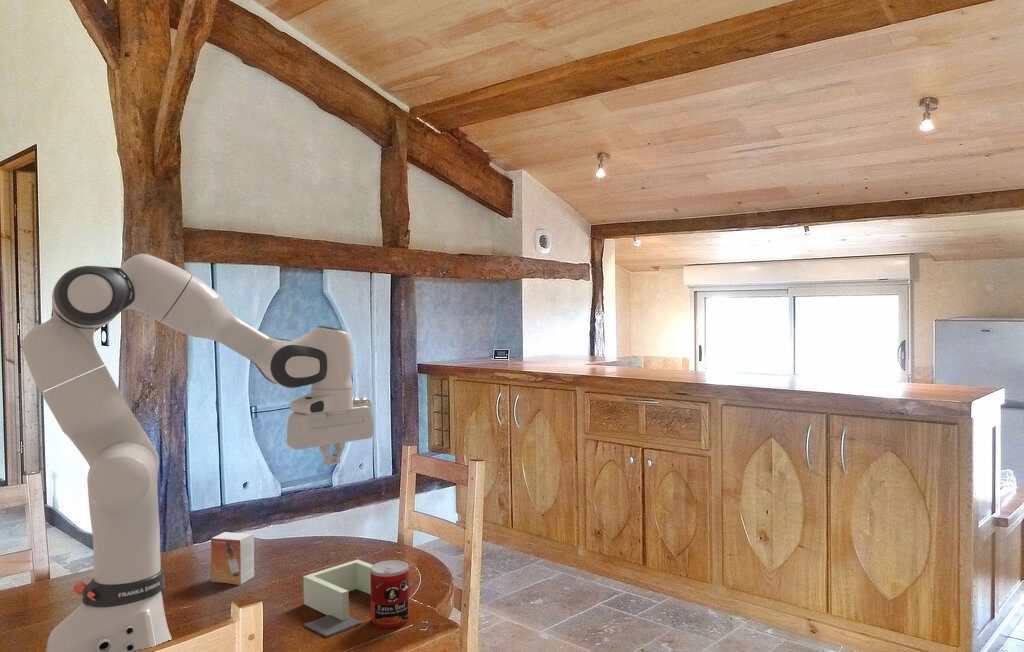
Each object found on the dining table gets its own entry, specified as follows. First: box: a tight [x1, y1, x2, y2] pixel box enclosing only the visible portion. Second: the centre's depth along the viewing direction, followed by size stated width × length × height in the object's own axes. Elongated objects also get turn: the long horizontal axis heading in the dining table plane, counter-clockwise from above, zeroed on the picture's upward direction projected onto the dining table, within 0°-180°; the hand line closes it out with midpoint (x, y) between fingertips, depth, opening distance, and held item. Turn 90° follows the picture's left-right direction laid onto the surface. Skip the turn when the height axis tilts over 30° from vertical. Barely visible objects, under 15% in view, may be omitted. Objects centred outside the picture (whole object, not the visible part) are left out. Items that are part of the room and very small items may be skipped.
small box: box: [210, 531, 255, 586], centre depth 171 cm, size 8×6×10 cm
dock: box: [302, 558, 374, 620], centre depth 156 cm, size 14×14×6 cm
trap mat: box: [303, 615, 362, 639], centre depth 145 cm, size 8×8×1 cm
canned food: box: [370, 559, 410, 629], centre depth 146 cm, size 8×8×11 cm
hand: (331, 464), depth 157 cm, fingers closed
